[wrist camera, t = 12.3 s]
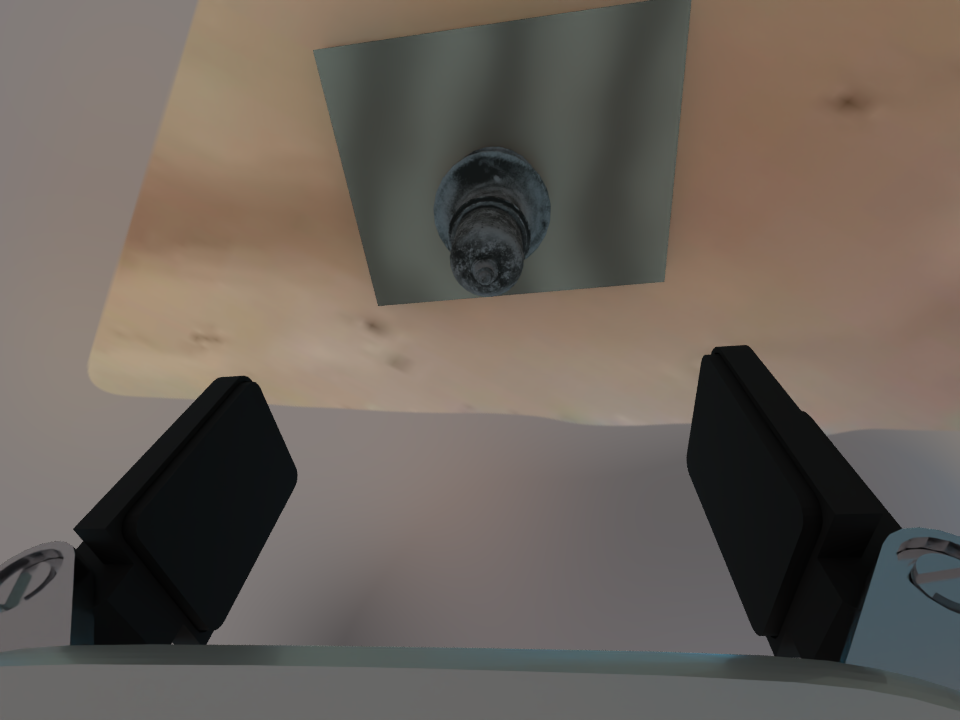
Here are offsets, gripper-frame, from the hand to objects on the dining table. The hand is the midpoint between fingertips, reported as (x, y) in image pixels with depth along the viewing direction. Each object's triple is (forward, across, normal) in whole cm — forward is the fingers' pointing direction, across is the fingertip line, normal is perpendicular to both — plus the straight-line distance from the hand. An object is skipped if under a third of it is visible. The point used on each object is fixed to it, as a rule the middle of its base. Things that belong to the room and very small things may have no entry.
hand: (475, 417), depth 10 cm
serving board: (+21, 0, -1) cm, 21 cm away
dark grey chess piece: (+20, 0, 0) cm, 20 cm away
